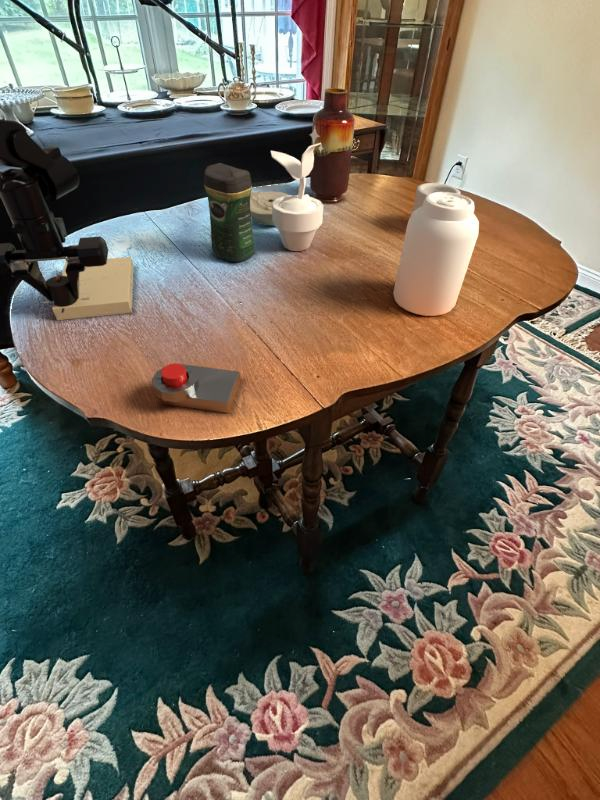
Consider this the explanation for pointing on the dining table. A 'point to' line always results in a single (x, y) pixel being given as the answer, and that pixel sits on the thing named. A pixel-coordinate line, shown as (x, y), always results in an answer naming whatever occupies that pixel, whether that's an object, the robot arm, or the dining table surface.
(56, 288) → the knob
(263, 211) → the oil lamp
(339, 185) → the vase
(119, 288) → the beige knob base panel
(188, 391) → the block
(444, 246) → the white lidded jar
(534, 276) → the dining table surface
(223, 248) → the coffee jar
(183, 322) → the dining table surface
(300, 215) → the potted plant
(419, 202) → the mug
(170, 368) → the button
